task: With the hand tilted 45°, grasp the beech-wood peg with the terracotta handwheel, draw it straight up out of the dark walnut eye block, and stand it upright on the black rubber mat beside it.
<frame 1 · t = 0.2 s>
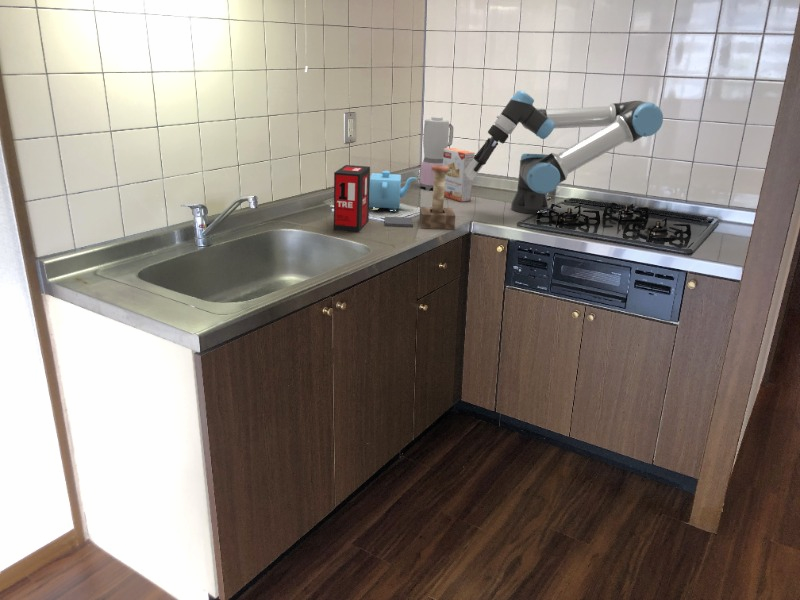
hand: (467, 176, 250), 15 cm above the counter, tool tilted 30°, fingers open, 13 cm apart
wheel peg: (438, 196, 237), in the eye block
blender: (435, 188, 305), on the counter
cleaning product box: (351, 226, 234), on the counter
cracker box: (455, 199, 285), on the counter
eye block: (436, 224, 241), on the counter
teakettle: (384, 208, 262), on the counter
rubber mat: (398, 223, 240), on the counter
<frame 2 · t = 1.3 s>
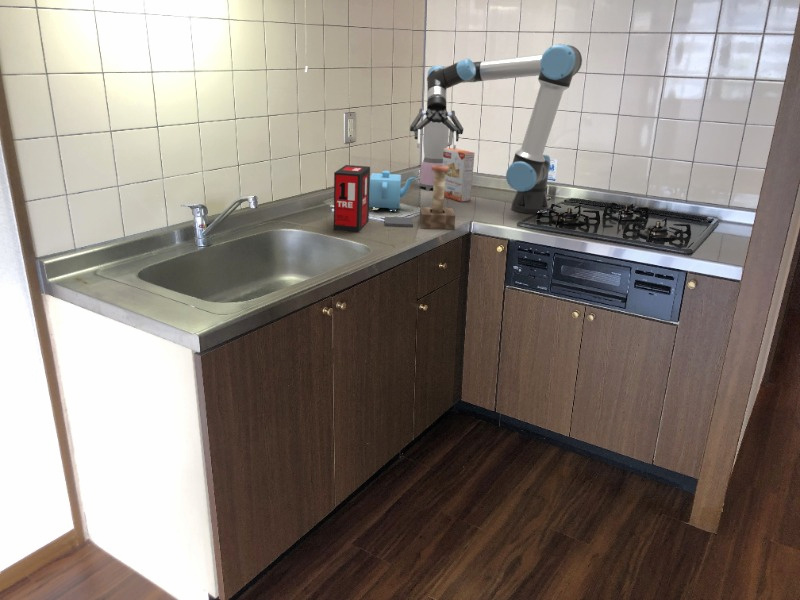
hand: (436, 146, 245), 26 cm above the counter, tool tilted 45°, fingers open, 13 cm apart
nothing on the counter moved.
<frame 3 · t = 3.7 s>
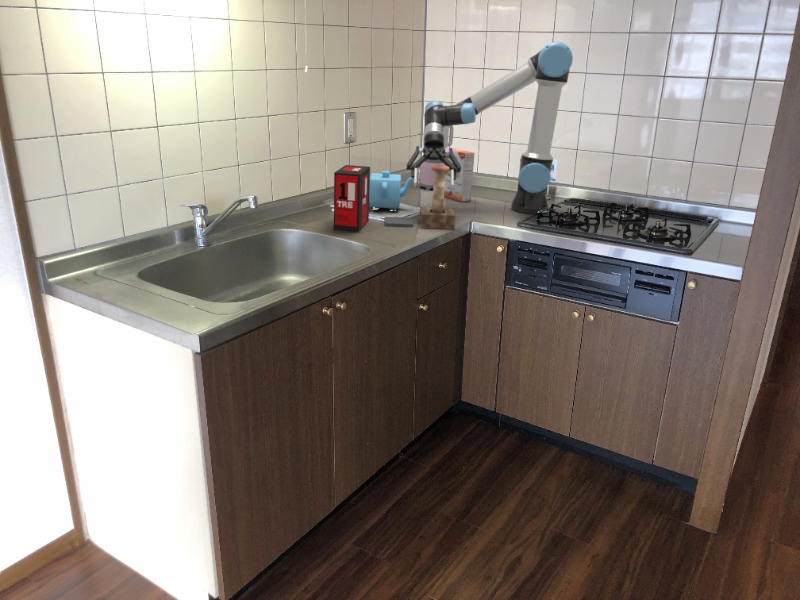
hand: (433, 185, 239), 13 cm above the counter, tool tilted 45°, fingers open, 13 cm apart
nothing on the counter moved.
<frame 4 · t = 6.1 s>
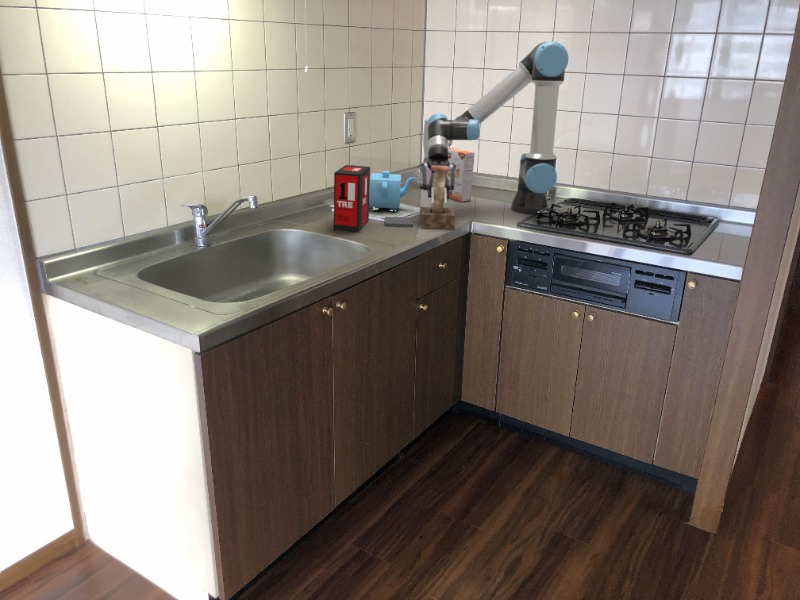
hand: (438, 204, 234), 8 cm above the counter, tool tilted 45°, fingers closed on wheel peg, 4 cm apart
wheel peg: (438, 196, 237), in the eye block, touching gripper
everything else where it was.
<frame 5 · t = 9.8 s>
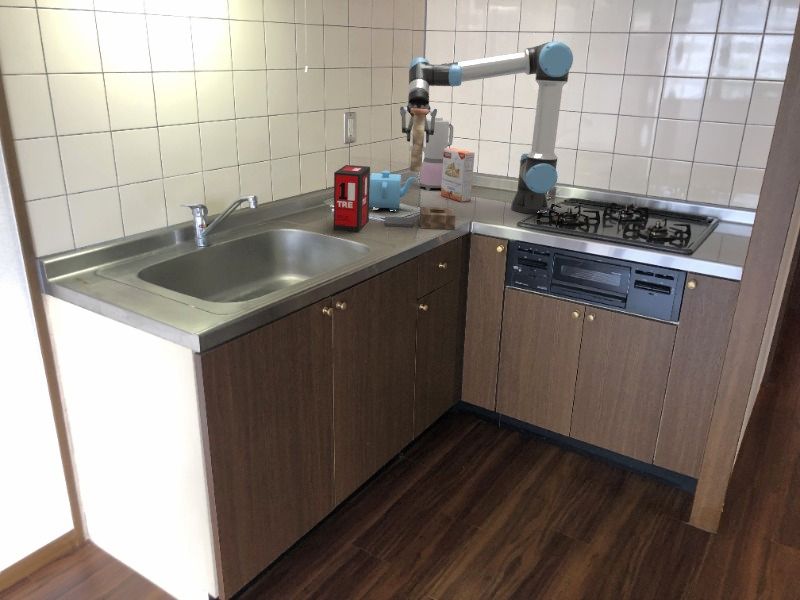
hand: (417, 148, 227), 28 cm above the counter, tool tilted 45°, fingers closed on wheel peg, 4 cm apart
wheel peg: (417, 140, 230), point 30 cm above the counter, touching gripper
everything else where it was.
when the fingers open (10 cm above the counter, at t = 13.5 s): wheel peg stays where it is, resting on rubber mat.
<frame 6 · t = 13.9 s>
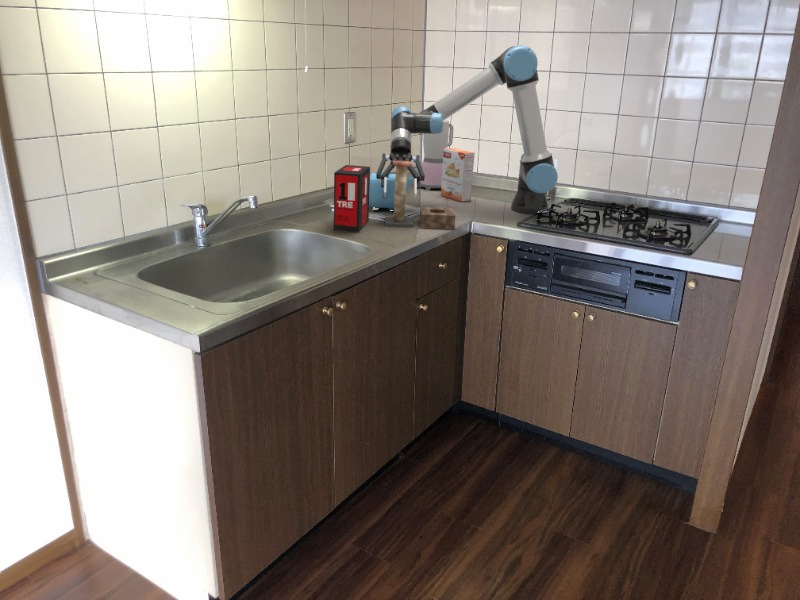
hand: (400, 195, 233), 11 cm above the counter, tool tilted 45°, fingers open, 10 cm apart
wheel peg: (400, 191, 236), on the rubber mat, point 12 cm above the counter
everything else where it was.
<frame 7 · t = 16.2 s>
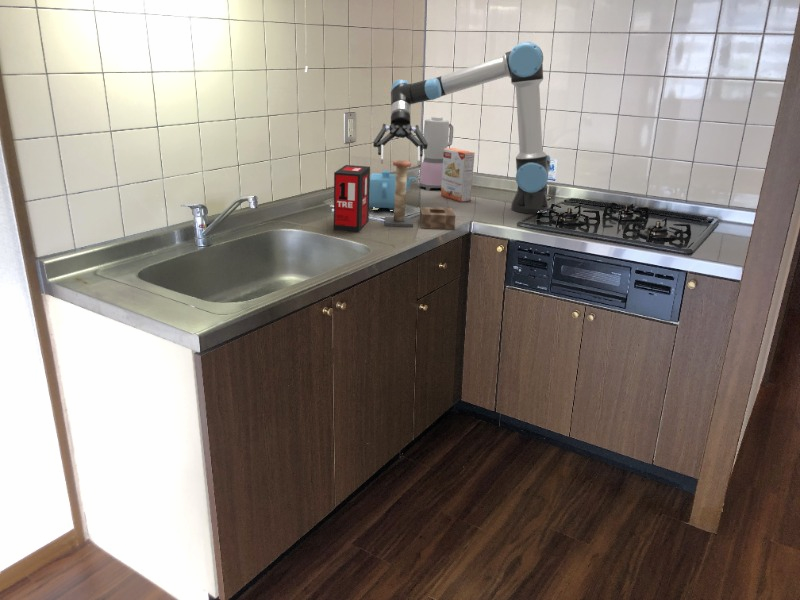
hand: (400, 162, 241), 21 cm above the counter, tool tilted 45°, fingers open, 13 cm apart
nothing on the counter moved.
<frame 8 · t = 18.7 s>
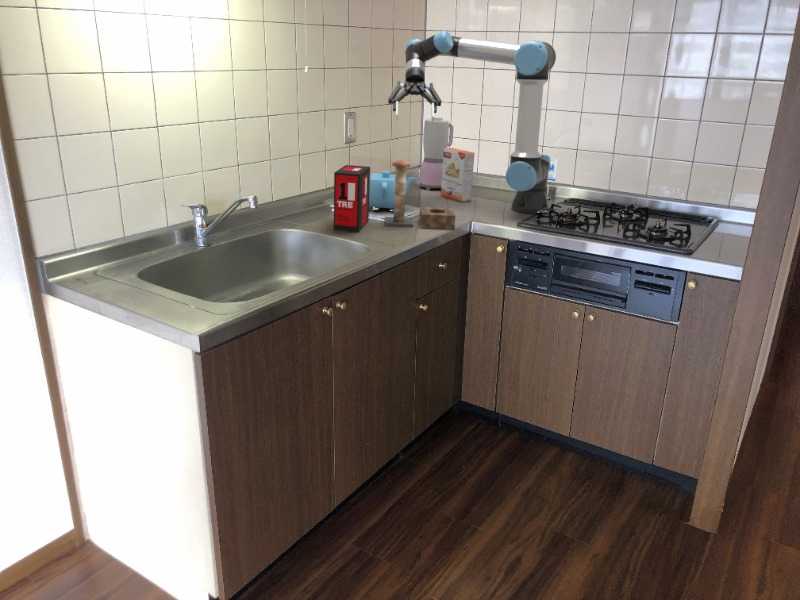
hand: (414, 118, 246), 36 cm above the counter, tool tilted 45°, fingers open, 13 cm apart
nothing on the counter moved.
at the end: wheel peg inside the target area on the rubber mat (0.0 cm from its centre), point 11.6 cm above the rubber mat's base; wheel peg tilted 1°; the gripper is holding nothing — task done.
